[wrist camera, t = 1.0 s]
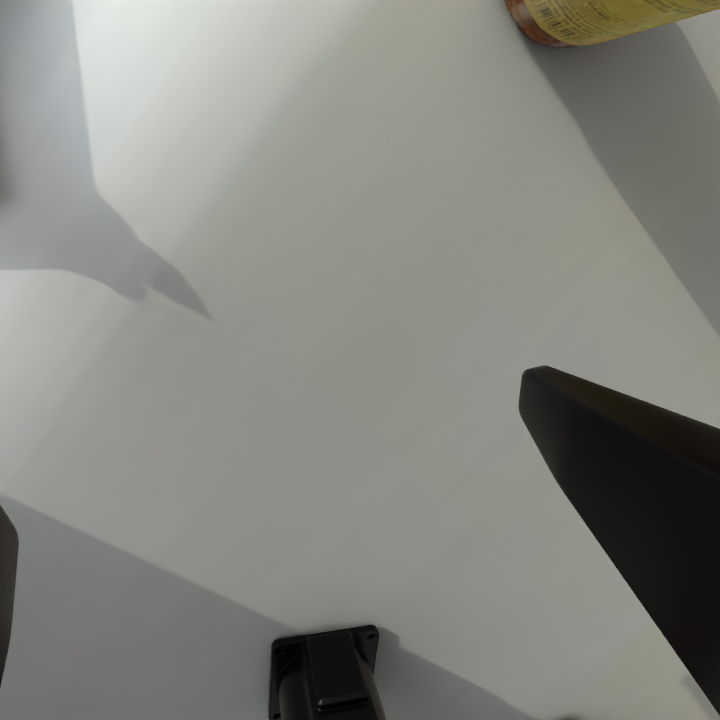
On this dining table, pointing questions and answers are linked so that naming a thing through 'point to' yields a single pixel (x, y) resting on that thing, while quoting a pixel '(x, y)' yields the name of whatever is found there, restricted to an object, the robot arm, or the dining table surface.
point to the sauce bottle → (598, 18)
